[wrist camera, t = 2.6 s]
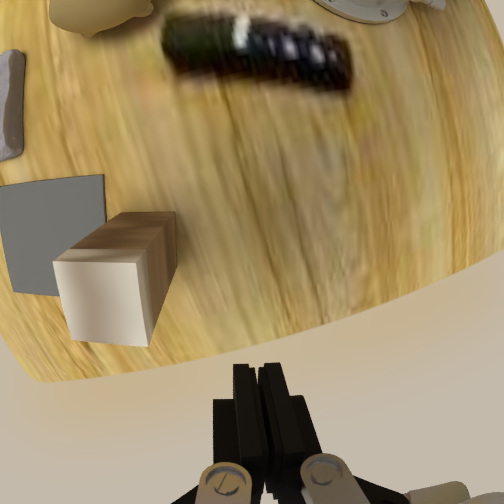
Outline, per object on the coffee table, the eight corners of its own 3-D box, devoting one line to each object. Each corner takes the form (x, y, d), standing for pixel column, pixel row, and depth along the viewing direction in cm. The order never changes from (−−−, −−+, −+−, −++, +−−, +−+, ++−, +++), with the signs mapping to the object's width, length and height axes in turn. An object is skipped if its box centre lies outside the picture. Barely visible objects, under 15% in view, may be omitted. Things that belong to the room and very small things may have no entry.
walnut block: (175, 211, 25) (136, 263, 13) (177, 266, 26) (148, 347, 15) (121, 212, 24) (52, 261, 13) (125, 265, 26) (71, 339, 15)
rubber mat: (104, 174, 23) (102, 174, 23) (116, 298, 27) (115, 300, 27) (-3, 186, 22) (-5, 187, 21) (15, 290, 26) (13, 292, 25)
